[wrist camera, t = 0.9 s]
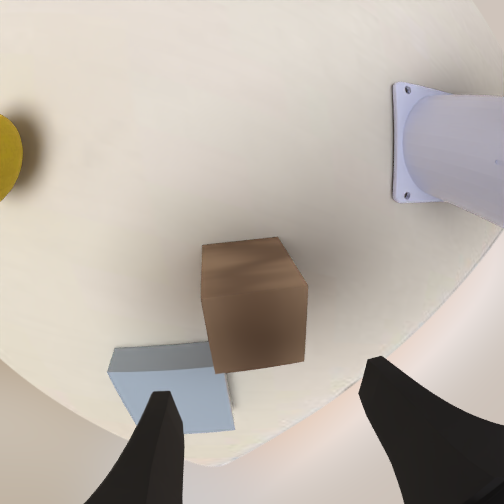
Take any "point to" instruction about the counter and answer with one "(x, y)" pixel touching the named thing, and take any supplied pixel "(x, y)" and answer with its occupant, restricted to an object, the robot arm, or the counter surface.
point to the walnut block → (253, 305)
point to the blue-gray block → (174, 383)
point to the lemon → (9, 156)
